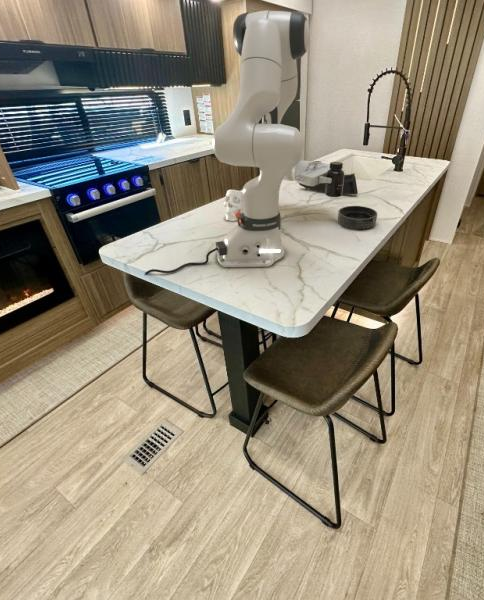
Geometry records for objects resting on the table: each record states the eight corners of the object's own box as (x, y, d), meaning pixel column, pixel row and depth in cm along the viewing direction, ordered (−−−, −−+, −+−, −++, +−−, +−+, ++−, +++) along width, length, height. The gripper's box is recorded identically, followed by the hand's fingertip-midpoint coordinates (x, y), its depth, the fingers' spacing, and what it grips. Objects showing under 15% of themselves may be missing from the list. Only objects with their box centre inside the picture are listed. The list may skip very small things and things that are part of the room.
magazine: (364, 177, 154) (309, 152, 159) (363, 178, 151) (307, 153, 156) (351, 209, 165) (299, 185, 170) (349, 211, 162) (297, 186, 167)
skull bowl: (214, 217, 133) (220, 187, 132) (232, 224, 146) (237, 197, 145) (236, 220, 129) (242, 190, 128) (252, 227, 142) (258, 200, 141)
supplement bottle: (341, 198, 125) (344, 165, 118) (324, 197, 126) (326, 164, 119) (342, 192, 131) (345, 161, 124) (326, 191, 132) (328, 160, 125)
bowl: (345, 232, 124) (346, 221, 121) (332, 217, 136) (333, 207, 133) (382, 228, 126) (384, 217, 124) (366, 214, 138) (367, 204, 136)
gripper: (292, 169, 122) (323, 175, 116) (320, 160, 136) (350, 164, 129) (292, 186, 126) (322, 193, 119) (319, 175, 139) (348, 180, 133)
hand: (337, 178), depth 124 cm, fingers closed on supplement bottle, 7 cm apart
